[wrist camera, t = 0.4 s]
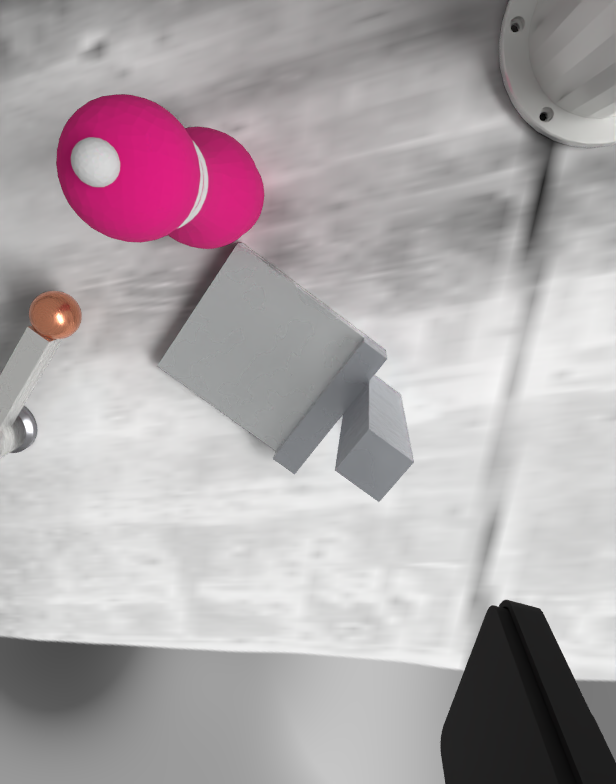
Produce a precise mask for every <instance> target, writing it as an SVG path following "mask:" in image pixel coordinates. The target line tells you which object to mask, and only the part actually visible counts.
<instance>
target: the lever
mask: <svg viewBox="0 0 616 784" xmlns="http://www.w3.org/2000/svg"><path fill="white" fill-rule="evenodd" d="M29 318H30V322H31V324H32V326H28V327H27V328H26V330H25V332H24V334H23V335H22V337H21V339H20V341H19V342H18V344H17V346H16V348H15V350H14V351H13V353H12V355H11V357H10V359H9V360H8V362H7V364H6V366H5V368H4V369H3V371H2V373H1V375H0V458H2V457H3V456H5V455H7V454H8V453H10V452H12V451H13V450H15V449H17V448H18V447H20V446H21V445H22V444H23V442H24V440H25V438H26V428H25V425H24V422H23V421H22V419H21V418H20V417H19V416H18V415H19V413H20V411H21V409H22V408H23V406H24V404H25V403H26V401H27V399H28V397H29V396H30V394H31V392H32V391H33V389H34V387H35V386H36V384H37V382H38V380H39V379H40V377H41V375H42V374H43V372H44V370H45V368H46V367H47V365H48V363H49V362H50V360H51V358H52V357H53V355H54V353H55V351H56V350H57V348H58V346H59V345H60V343H61V341H62V339H63V338H66V337H69V336H71V335H72V334H73V333H75V332H76V330H77V329H78V328H79V326H80V323H81V318H82V314H81V309H80V307H79V305H78V303H77V302H76V301H75V300H74V299H73V298H72V297H71V296H70V295H68V294H66V293H64V292H60V291H48V292H44V293H42V294H40V295H39V296H37V297H36V298H35V299H34V300H33V302H32V303H31V306H30V309H29Z"/></svg>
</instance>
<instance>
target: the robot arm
mask: <svg viewBox="0 0 616 784" xmlns="http://www.w3.org/2000/svg"><path fill="white" fill-rule="evenodd" d="M513 25H515V26H517V27H518V32H512V30H511V26H513ZM499 57H500V69H501V73H502V78H503V82H504V86H505V88H506V91H507V93H508V95H509V97H510V100H511V102H512V104H513V105H514V107H515V108H516V109H517V111H518V112H519V114H520V115H521V116H522V118H523V119H524V120H525V121H526V122H527V123H528V124H529V125H531V126H532V127H533V128H534V129H535V130H536V131H537V132H539V133H541V134H543V135H544V136H546V137H548V138H550V139H551V140H553V141H556V142H560V143H563V144H566V145H569V146H576V147H587V148H593V147H603V146H610V145H614V144H616V0H509V2H508V5H507V8H506V11H505V15H504V18H503V21H502V26H501V34H500V41H499ZM541 113H544V114H545V115H546V119H545V121H541V120H540V118H539V116H540V114H541ZM441 756H442V763H443V770H444V777H445V784H616V763H615V760H614V758H613V756H612V754H611V752H610V750H609V748H608V746H607V744H606V741H605V739H604V737H603V735H602V733H601V731H600V729H599V727H598V725H597V723H596V721H595V719H594V717H593V715H592V714H591V712H590V710H589V708H588V706H587V704H586V702H585V700H584V698H583V696H582V693H581V692H580V689H579V687H578V685H577V683H576V681H575V679H574V677H573V675H572V672H571V670H570V668H569V666H568V664H567V662H566V660H565V658H564V656H563V654H562V652H561V649H560V647H559V645H558V643H557V641H556V639H555V637H554V635H553V633H552V631H551V629H550V626H549V624H548V622H547V620H546V618H545V616H544V614H543V612H542V611H541V609H539V608H536V607H532V606H528V605H525V604H521V603H517V602H513V601H509V600H504V601H502V603H501V604H500V605H499V607H497V606H493V605H492V606H490V607H489V609H488V611H487V613H486V615H485V618H484V620H483V623H482V626H481V628H480V631H479V634H478V636H477V639H476V642H475V644H474V647H473V649H472V652H471V655H470V657H469V660H468V663H467V665H466V668H465V671H464V673H463V676H462V679H461V681H460V684H459V686H458V689H457V692H456V694H455V697H454V700H453V702H452V705H451V707H450V710H449V713H448V715H447V718H446V721H445V723H444V726H443V730H442V735H441Z"/></svg>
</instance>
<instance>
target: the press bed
mask: <svg viewBox="0 0 616 784" xmlns="http://www.w3.org/2000/svg"><path fill="white" fill-rule="evenodd" d="M386 360H387V355H386V350H385V349H384V348H382V347H381V346H380V345H378V344H377V343H376V342H374V341H373V340H372V339H370V338H369V337H368V336H366V335H365V334H364V333H362V332H361V331H360V330H358V329H357V328H356V327H354V326H353V325H352V324H350V323H349V322H348V321H346V320H345V319H344V318H342V317H341V316H340V315H338V314H337V313H336V312H334V311H333V310H332V309H330V308H329V307H328V306H326V305H325V304H323V303H322V302H321V301H319V300H318V299H317V298H315V297H314V296H313V295H311V294H310V293H309V292H307V291H306V290H305V289H303V288H302V287H301V286H299V285H298V284H297V283H295V282H294V281H293V280H291V279H290V278H289V277H287V276H286V275H285V274H283V273H282V272H281V271H279V270H278V269H277V268H275V267H274V266H273V265H271V264H270V263H269V262H267V261H266V260H265V259H263V258H262V257H261V256H259V255H258V254H257V253H255V252H254V251H253V250H251V249H250V248H249V247H247V246H246V245H245V244H243V243H238V244H237V245H236V247H235V248H234V250H233V251H232V253H231V254H230V256H229V257H228V259H227V260H226V262H225V263H224V265H223V266H222V268H221V270H220V271H219V273H218V274H217V276H216V277H215V279H214V280H213V282H212V283H211V285H210V286H209V288H208V289H207V291H206V292H205V294H204V295H203V297H202V298H201V300H200V302H199V303H198V305H197V306H196V308H195V309H194V311H193V312H192V314H191V315H190V317H189V318H188V320H187V321H186V323H185V324H184V326H183V327H182V329H181V330H180V332H179V334H178V335H177V337H176V338H175V340H174V341H173V343H172V344H171V346H170V347H169V349H168V350H167V352H166V353H165V355H164V356H163V358H162V359H161V361H160V362H159V364H158V365H157V366H158V367H159V368H161V369H162V370H163V371H165V372H166V373H168V374H169V375H170V376H172V377H173V378H175V379H176V380H177V381H179V382H180V383H182V384H183V385H184V386H186V387H187V388H189V389H190V390H191V391H193V392H194V393H196V394H197V395H198V396H200V397H201V398H202V399H204V400H205V401H207V402H208V403H209V404H211V405H212V406H214V407H215V408H216V409H218V410H219V411H221V412H222V413H223V414H225V415H226V416H228V417H229V418H230V419H232V420H233V421H235V422H236V423H237V424H239V425H240V426H242V427H243V428H244V429H246V430H247V431H249V432H250V433H251V434H253V435H254V436H256V437H257V438H258V439H260V440H261V441H263V442H264V443H265V444H267V445H268V446H270V447H271V448H272V449H274V450H275V451H276V452H275V455H274V457H273V459H274V460H275V461H277V462H278V463H279V464H281V465H282V466H284V467H285V468H286V469H288V470H289V471H291V472H292V473H293V474H295V473H296V472H297V471H298V469H299V468H300V467H301V466H302V464H303V463H304V462H305V461H306V459H307V458H308V457H309V456H310V454H311V453H312V452H313V451H314V449H315V448H316V447H317V446H318V444H319V443H320V442H321V441H322V439H323V438H324V437H325V436H326V434H327V433H328V432H329V431H330V429H331V428H332V427H333V426H334V424H335V423H336V422H337V421H338V419H339V418H340V417H341V416H342V414H343V419H342V426H341V432H340V439H339V446H338V453H337V460H336V467H335V471H337V472H338V473H339V474H341V475H342V476H344V477H345V478H346V479H348V480H349V481H351V482H352V483H353V484H355V485H356V486H357V487H359V488H360V489H362V490H363V491H364V492H366V493H367V494H369V495H370V496H371V497H373V498H374V499H376V500H377V501H378V502H379V501H380V500H381V499H382V498H383V497H384V496H385V495H386V493H387V492H388V491H389V490H390V489H391V488H392V487H393V485H394V484H395V483H396V482H397V481H398V480H399V479H400V477H401V476H402V475H403V474H404V473H405V472H406V471H407V469H408V468H409V467H410V466H411V465H412V464H413V463H414V460H413V454H412V449H411V444H410V439H409V434H408V429H407V423H406V418H405V413H404V408H403V403H402V397H401V394H399V393H398V392H397V391H395V390H394V389H393V388H391V387H390V386H389V385H387V384H386V383H385V382H383V381H382V380H381V379H379V378H378V377H377V376H375V375H374V374H375V373H376V372H377V371H378V370H379V368H380V367H381V366H382V365H383V363H384V362H385V361H386ZM18 416H19V417H20V418H21V419H22V421H23V422H24V425H25V428H26V438H25V440H24V442H23V444H22V445H21V446H20V447H18V448H17V449H15V450H13V451H12V452H10V453H17V452H20V451H23V450H24V449H26V448H28V447H29V446H30V445H31V444H32V443H33V442H34V440H35V438H36V435H37V424H36V421H35V418H34V416H33V415H32V413H31V412H30V411H29V410H28V409H27V408H26V407H25V406H23V408H22V409H21V411H20V413H19V415H18Z"/></svg>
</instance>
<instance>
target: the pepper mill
mask: <svg viewBox="0 0 616 784" xmlns="http://www.w3.org/2000/svg"><path fill="white" fill-rule="evenodd" d="M56 164H57V172H58V178H59V181H60V184H61V187H62V190H63V193H64V195H65V197H66V199H67V201H68V203H69V205H70V206H71V207H72V208H73V210H74V211H75V212H76V214H77V215H78V216H79V217H80V218H81V219H82V220H83V221H84V222H86V223H87V224H88V225H89V226H90V227H91V228H93V229H95V230H97V231H98V232H100V233H102V234H104V235H106V236H108V237H111V238H114V239H118V240H122V241H127V242H146V241H152V240H156V239H159V238H161V237H164V236H167V235H169V236H170V237H171V238H173V239H175V240H176V241H178V242H180V243H183V244H186V245H188V246H191V247H196V248H203V249H213V248H219V247H223V246H225V245H228V244H230V243H232V242H234V241H235V240H237V239H238V238H239V237H241V236H242V235H243V234H244V233H246V232H247V231H248V230H249V229H251V228H252V226H253V225H254V224H255V223H256V221H257V220H258V218H259V216H260V214H261V210H262V207H263V201H264V188H263V183H262V179H261V176H260V174H259V172H258V170H257V168H256V166H255V163H254V161H253V160H252V158H251V156H250V154H249V153H248V152H247V151H246V149H245V148H244V147H243V146H242V145H241V144H240V143H239V142H238V141H236V140H235V139H234V138H232V137H231V136H229V135H227V134H226V133H223V132H220V131H218V130H214V129H211V128H204V127H189V128H184V127H183V125H182V124H181V123H180V122H179V121H178V120H177V119H176V118H175V117H174V116H173V115H172V114H171V113H170V112H168V111H167V110H166V109H165V108H163V107H161V106H160V105H158V104H157V103H155V102H152V101H150V100H147V99H145V98H141V97H137V96H133V95H125V94H121V95H109V96H102V97H99V98H97V99H94V100H91V101H89V102H88V103H86V104H85V105H84V106H82V107H81V108H79V109H78V110H77V111H76V112H75V113H74V114H73V115H72V116H71V117H70V119H69V120H68V121H67V123H66V125H65V126H64V128H63V131H62V133H61V136H60V138H59V143H58V149H57V161H56Z"/></svg>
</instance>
